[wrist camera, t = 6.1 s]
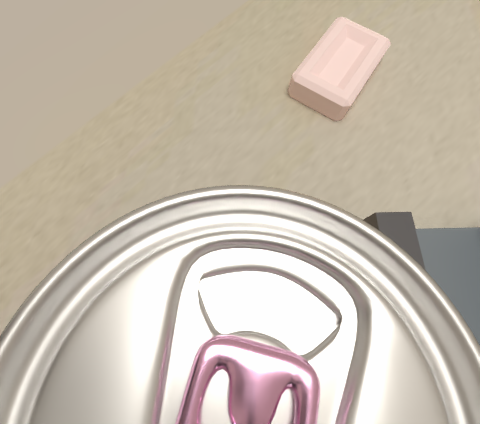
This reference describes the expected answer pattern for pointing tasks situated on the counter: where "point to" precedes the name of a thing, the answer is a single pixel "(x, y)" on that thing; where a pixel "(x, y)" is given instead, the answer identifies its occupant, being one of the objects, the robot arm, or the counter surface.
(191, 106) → the counter surface
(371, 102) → the counter surface
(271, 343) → the beverage can
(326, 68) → the soap bar
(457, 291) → the duct channel
